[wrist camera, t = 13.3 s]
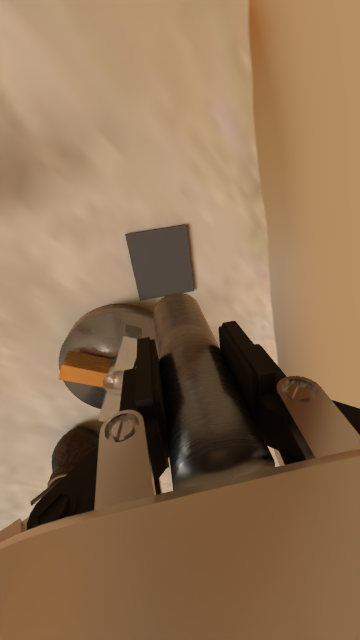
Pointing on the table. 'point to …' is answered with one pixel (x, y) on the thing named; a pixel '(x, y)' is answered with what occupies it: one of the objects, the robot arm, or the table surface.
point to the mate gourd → (70, 454)
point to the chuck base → (103, 341)
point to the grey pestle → (202, 401)
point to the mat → (161, 261)
